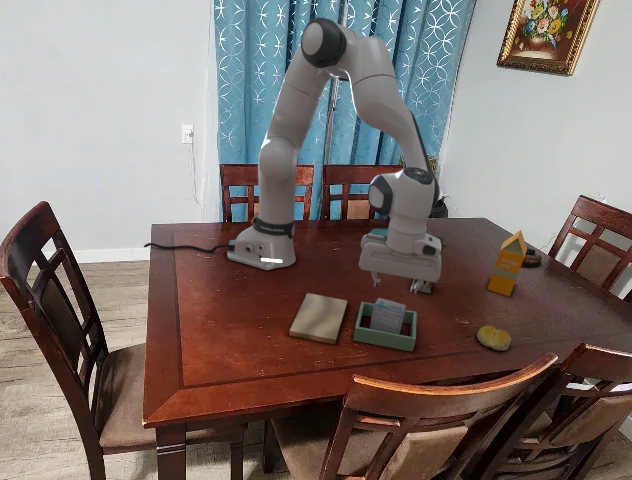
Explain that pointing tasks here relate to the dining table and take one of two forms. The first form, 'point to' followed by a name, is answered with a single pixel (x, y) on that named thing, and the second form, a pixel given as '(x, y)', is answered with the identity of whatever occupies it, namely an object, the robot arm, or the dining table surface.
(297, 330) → the board
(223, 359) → the dining table surface
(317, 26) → the robot arm
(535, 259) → the pastry
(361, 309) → the bin
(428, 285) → the coffee box
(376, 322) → the medicine box
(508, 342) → the bread roll
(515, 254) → the orange juice
